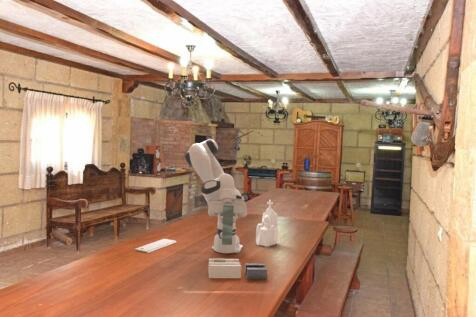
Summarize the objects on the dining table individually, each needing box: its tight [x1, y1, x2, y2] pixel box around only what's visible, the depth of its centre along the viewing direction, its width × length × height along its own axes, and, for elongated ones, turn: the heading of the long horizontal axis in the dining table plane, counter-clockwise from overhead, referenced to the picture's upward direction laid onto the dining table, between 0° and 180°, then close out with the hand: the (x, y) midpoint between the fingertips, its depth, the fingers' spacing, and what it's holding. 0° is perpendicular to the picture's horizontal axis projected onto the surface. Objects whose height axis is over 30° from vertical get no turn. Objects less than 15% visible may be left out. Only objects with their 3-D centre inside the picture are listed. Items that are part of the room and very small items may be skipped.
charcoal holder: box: [244, 262, 268, 281], centre depth 210 cm, size 10×10×6 cm
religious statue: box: [255, 199, 279, 248], centre depth 277 cm, size 17×14×30 cm
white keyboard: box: [134, 238, 177, 254], centre depth 263 cm, size 31×3×12 cm
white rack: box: [207, 258, 242, 279], centre depth 212 cm, size 13×16×7 cm
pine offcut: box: [213, 257, 225, 262], centre depth 214 cm, size 3×5×7 cm, turn 96°
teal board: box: [222, 205, 234, 245], centre depth 207 cm, size 2×5×20 cm, turn 97°
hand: (227, 222), depth 207 cm, fingers closed on teal board, 5 cm apart
